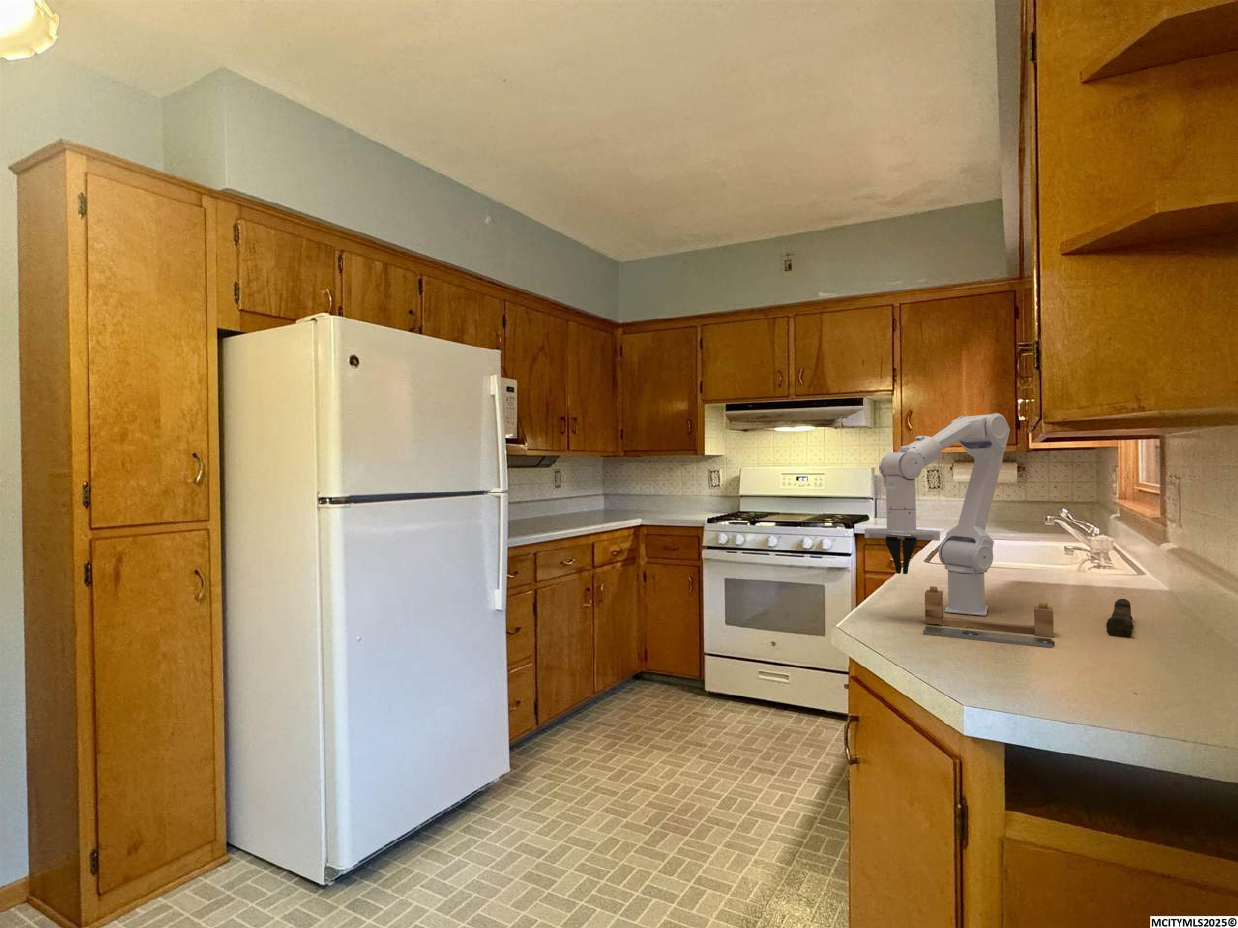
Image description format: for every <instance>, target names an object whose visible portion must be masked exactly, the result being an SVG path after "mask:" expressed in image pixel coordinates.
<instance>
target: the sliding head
mask: <svg viewBox="0 0 1238 928" xmlns="http://www.w3.org/2000/svg"><path fill="white" fill-rule="evenodd" d="M942 617H944V590H938V586H934V585H932V586H929V589H926V590H925V591H924V622H925V624H927V625H935V624H939V625H938V626H943V625H942Z"/></svg>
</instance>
